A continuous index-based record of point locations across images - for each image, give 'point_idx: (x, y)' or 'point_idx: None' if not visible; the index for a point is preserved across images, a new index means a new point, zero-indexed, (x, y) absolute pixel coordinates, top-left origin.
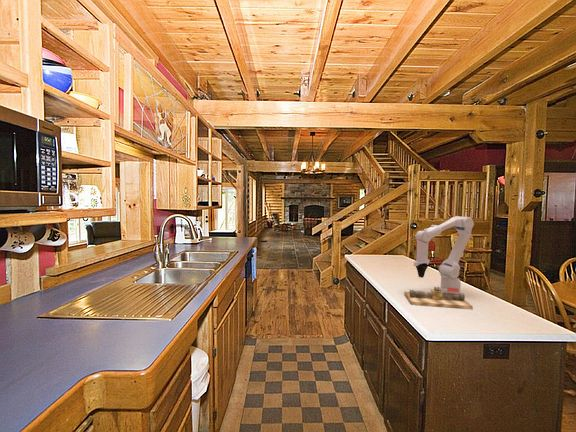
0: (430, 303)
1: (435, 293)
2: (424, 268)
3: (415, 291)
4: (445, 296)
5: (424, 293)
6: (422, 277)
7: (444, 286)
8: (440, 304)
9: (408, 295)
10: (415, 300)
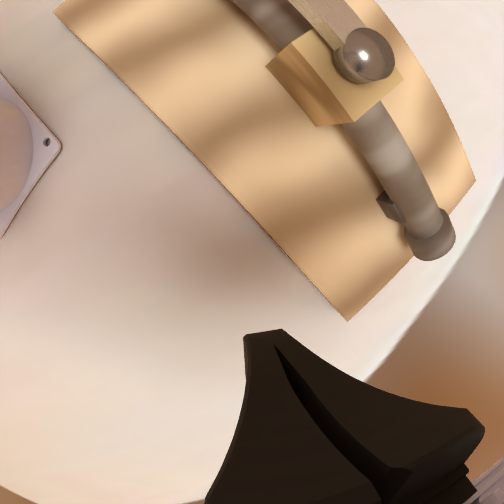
0: (430, 83)
1: None
2: (394, 417)
3: (438, 214)
4: None
5: (410, 150)
6: (278, 330)
7: (2, 152)
8: (394, 30)
9: (405, 253)
10: (453, 171)
